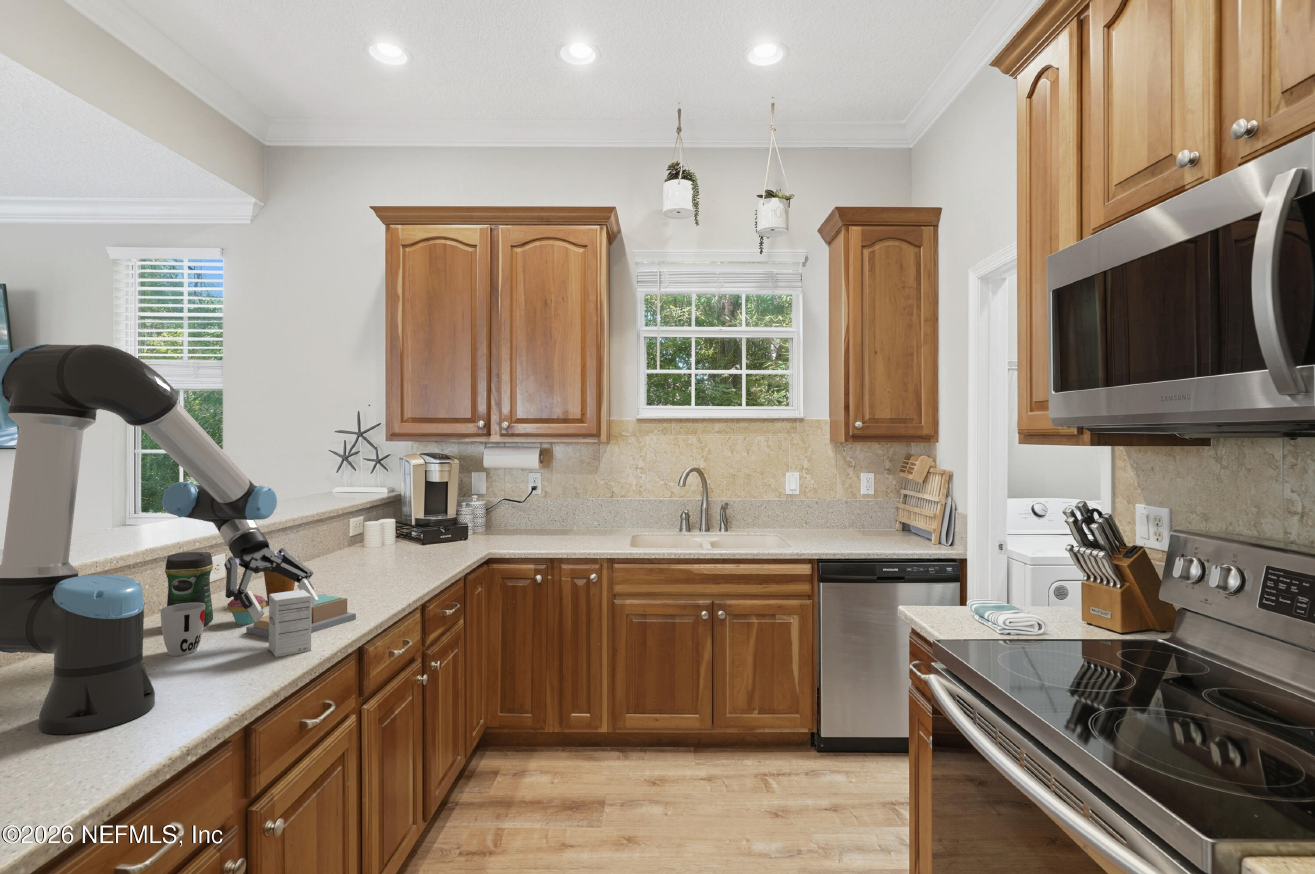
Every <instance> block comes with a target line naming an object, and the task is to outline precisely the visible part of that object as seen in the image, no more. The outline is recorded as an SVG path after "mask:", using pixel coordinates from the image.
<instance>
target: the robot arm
mask: <svg viewBox="0 0 1315 874" xmlns="http://www.w3.org/2000/svg"><path fill="white" fill-rule="evenodd" d="M0 399H1V400H2V401H3V402H4V403H6V404H7V405H8V414H7V416H8V417H9V418H10V419H11V420H12V421H13V422H14V423H16V425H17V427H18V432H17V439H16V446H15V447H16V448H15V453H14V454H15V456H14V463H13V470H12V477H11V478H12V479H11V487H10V494H9V503H8V512H7V519H6V526H5V535H4V542H3V551H2V558H1V564H0V652H1V653H7V654H8V653H9V654H14V653H27V654H28V653H32V654H51V655H53V679H52V682H51V684H50V687H49V689H48V691H47V695H46V696H45V699H44V702H43V704H42V705H41V706H42V707H41V710H40V712H39V716H38V729H39V731H41V732H42V733H45V734H49V735H74V734H82V733H89V732H93V731H94V732H95V731H98V730H102V729H108V728H111V727H114V726H118V725H122V724H124V723H127V722H130V721H132V720H135V719H137V718H139V717H141V716H143V715H145V714H146V713H148V712H150V711H151V710H152V709H153V708H154V707H155V704H156V692H155V689H154V685H153V684H152V681H151V679H150V676H149V674H148V673H147V670H146V667H145V665H144V661H143V660H144V659H143V657H144V656H143V655H144V652H143V649H144V623H145V622H144V621H145V620H144V619H145V618H144V617H145V599H144V594H143V593H144V592H143V586H142V584H141V583H140V582H139V581H138V580H137V579H135V578H132V577H129V576H124V575H118V574H103V575H100V574H87V575H79V570H78V569H77V568H76V567H75V566H73V565H72V564H71V563H70V562H69V560H70V553H71V545H72V544H71V543H72V534H73V526H74V518H75V508H76V500H77V492H78V483H79V473H80V466H81V465H80V463H81V456H82V455H81V454H82V448H83V439H84V431H85V430H86V429H88V428H89V427H91V426H92V425H94V424H96V421H97V420H96V419H97V412H98V411H97V410H102V411H107V412H110V413H112V414H115V415H117V416H119V417H120V418H121V419H122V420H123V421H124V422H126V423H127V424H128V425H129V426H132V427H140V429H142V430H143V432H144V433H146V434H147V435H148V437H150V438H151V439H152V440H153V441H154V442H155V443H156V445H158V446H159V447H160V448H161V449H162V450H163V451H164V452H166V454H167V455H169V457H170V458H171V459H173V461H175V462H176V464H177V465H179V466H180V468H182V469H183V470H184V471H185V472H186V473H187V474H188V475H189V476H190V477H191V478H192V479H193V480H194V481H195V482H196V483H198V484H195V483H194V482H186V481H178V482H175V483H172V484H171V485H169V486H168V487H167V488H166V489H165V491H164V492H163V495H162V500H161V506H162V508H163V509H164V512H166V514H167V513H168V514H169V515H173V516H177V517H178V518H186V519H191V520H192V519H194V520H198V521H203V522H208V523H212V524H213V525H214V526H215V528H216V529H217V531H218V533H219V535H220V536H221V537H222V540H223V541H224V543H225V545H226V546H227V547H228V550H229V551H230V553H231V554H232V555H231V556H229V557H228V558H227V560H226V561H225V562H224V565H223V566H224V569H225V571H226V579H225V595H224V596H225V598H226V599H231V598H233V599H234V600H235V601H238V600H239V601H240V603H241V605H242V606H243V608H244V609H248V611H249V613H250V614H251V616H252V618H253V619H254V621H255V622H258V621H259V620H260V619H261V617H264V616H265V612H264V611H263V610H264V609H261V607H260V605H259V604H258V602H257V600H256V599H255V597H254V595H253V594H254V593H253V592H252V590H247V592H245V591H246V589H248V586H249V583H250V581H251V578H252V576H253V574H256V575H257V574H260V573H264V572H267V571H271V572H276V573H279V574H281V575H283V576H285V577H287V578H289V579H291V580H293V581H295V583H297V585H296V587H297V588H298V590H305V591H306V592H307V593H308V594H310V595H311V607H313V606H314V605H315V604H316V602H317V601H318V600H319V599H318V597H317V596H316V595H317V594H316V592H315V591H314V590H315V588H314V586H313V584H312V583H311V581H310V579H311V577H312V576H313V575H314V571H313V570H311V569H310V568H309V567H307V566H306V565H304V564H303V563H302V562H300V561H299V560H298V559H297V560H296V559H295V558H296V557H294V556H293V555H291V554H290V553H289V551H287V550H286V548H284V547H280V548H279V550H276V551H274V550H272V549H271V548H270V543H269V541H268V539H267V537H266V536H265V534H264V532H262V529H261V528H260V526H259V524H258V523H257V520H258V521H259V520H262V521H263V520H266V519H268V518H270V517H271V516H272V515H273V514H274V512H275V510H277V509H276V508H277V505H278V498H277V494H276V492H275V491H274V489H273V488H271V487H269V486H263V485H256V484H254V483H253V482H252V481H251V480H250V478H249V477H248V476H247V475H246V474H245V473H244V471H242V469H241V468H239V466H238V465H237V464H236V463H234V461H233V460H232V459H231V458H230V456H228V455H227V453H225V451H224V450H223V449H222V448H221V447H220V446H219V445H218V444H217V442H215V440H213V438H212V437H211V436H210V435H209V434H208V432H206V430H204V428H203V427H202V426H201V425H200V424H199V423H198V422H197V421H196V420H195V418H193V416H192V415H191V414H190V413H189V412H188V411H187V410H186V409H185V407H184V406H182V404H181V403H180V394H179V392H178V391H177V390H176V389H175V388H174V387H173V386H172V385H171V384H170V382H168V381H167V380H166V379H165V378H164V377H163V376H162V375H161V374H159V373H158V371H156V370H155V369H154V368H152V367H151V366H150V365H148V364H147V363H146V362H144V361H143V360H141V359H140V358H138V357H137V356H134V355H133V354H131V353H129V352H127V351H124V350H123V349H120V348H117V347H114V346H110V345H107V344H106V345H105V344H99V343H98V344H97V343H96V344H48V343H47V344H46V343H45V344H37V345H33V346H32V345H30V346H23V347H20V348H17V349H15V350H13V351H12V352H9V353H7V355H5V356H4V357H3V358H2V360H0ZM274 563H276V565H275V566H274V567H273V564H274ZM238 566H240V567H241V568H243V569H244V571H243V574H242V577H241V579H240V582H239V585H238V569H239V568H238Z"/></svg>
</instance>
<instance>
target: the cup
mask: <svg viewBox="0 0 1315 874" xmlns="http://www.w3.org/2000/svg"><path fill="white" fill-rule="evenodd" d="M159 610H160V611H159V612H160V625H161V626H160V627H161V632H162V637H163V643H164V646H165V648H166V651H167V653H168V655H169V656H171V657H172V656H173V657H175V656H176V657H179V656H186V655H189V654H193V653H195V652H197V651H198V648H199V646H200V643H201V639H202V635H203V631H204V626H205V625H204V617H205V604H204V603H183V604H176V605H171V606H167V605H166V606H165V607H162V608H161V609H159Z"/></svg>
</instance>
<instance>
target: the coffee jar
mask: <svg viewBox="0 0 1315 874" xmlns="http://www.w3.org/2000/svg"><path fill="white" fill-rule="evenodd" d="M164 568H165V569H164V572H165V576H166V577H167V601H166V607H167V606H171V605H176V604H183V603H204V604H205V617H204V626H208V625H209V624H211V623H212V621H213V620H214V612H213V611H214V610H213V602H212V595H211V580H210V579H211V573H212V570H213V568H214V561H213V556H212V553H211V552H210V551H185V552H177V553H173V554H170V555H168V556H167V558H166V561H165V567H164Z"/></svg>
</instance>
